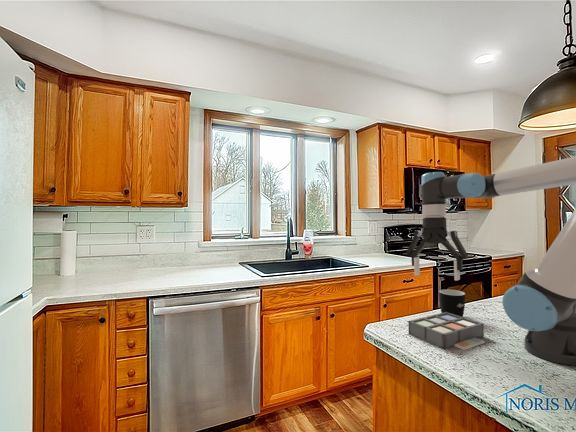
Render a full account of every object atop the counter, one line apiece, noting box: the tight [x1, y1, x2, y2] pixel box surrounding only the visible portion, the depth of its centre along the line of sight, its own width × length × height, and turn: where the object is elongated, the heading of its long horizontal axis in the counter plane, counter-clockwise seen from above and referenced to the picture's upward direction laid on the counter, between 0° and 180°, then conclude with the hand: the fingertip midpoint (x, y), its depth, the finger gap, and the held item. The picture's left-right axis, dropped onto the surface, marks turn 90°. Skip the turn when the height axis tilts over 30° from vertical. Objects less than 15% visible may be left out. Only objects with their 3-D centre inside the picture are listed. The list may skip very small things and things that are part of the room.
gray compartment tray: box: [408, 312, 486, 351], centre depth 100 cm, size 17×20×4 cm
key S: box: [431, 326, 452, 333], centre depth 96 cm, size 4×4×2 cm
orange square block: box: [446, 323, 465, 330], centre depth 99 cm, size 4×4×2 cm
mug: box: [438, 289, 466, 317], centre depth 119 cm, size 12×9×10 cm
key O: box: [458, 320, 475, 326], centre depth 102 cm, size 4×4×2 cm
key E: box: [417, 321, 434, 327], centre depth 102 cm, size 4×4×2 cm
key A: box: [441, 315, 457, 320], centre depth 107 cm, size 4×4×2 cm
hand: (436, 277), depth 105 cm, fingers open, 13 cm apart
